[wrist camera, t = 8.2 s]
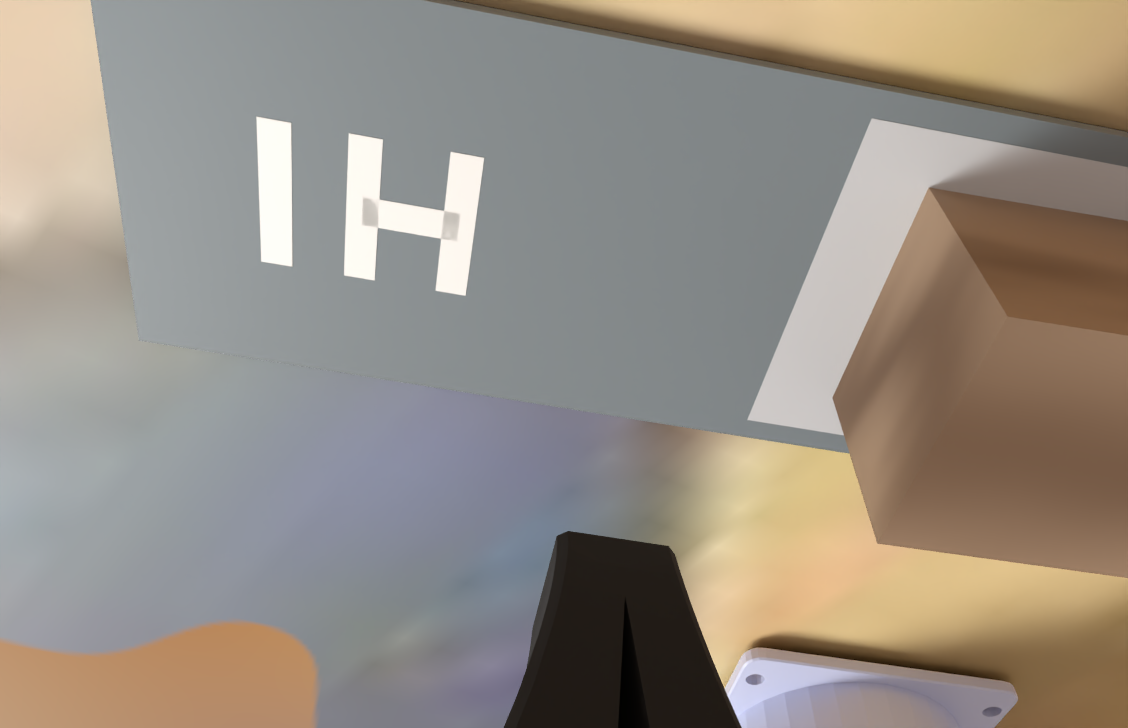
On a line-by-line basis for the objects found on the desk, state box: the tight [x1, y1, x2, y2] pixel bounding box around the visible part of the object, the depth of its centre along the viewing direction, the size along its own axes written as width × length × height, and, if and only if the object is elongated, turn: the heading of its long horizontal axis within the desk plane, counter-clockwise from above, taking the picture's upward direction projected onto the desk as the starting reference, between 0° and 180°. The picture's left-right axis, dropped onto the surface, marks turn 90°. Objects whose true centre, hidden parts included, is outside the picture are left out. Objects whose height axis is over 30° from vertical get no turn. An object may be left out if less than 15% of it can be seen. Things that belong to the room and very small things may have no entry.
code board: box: [91, 0, 1128, 453], centre depth 17 cm, size 8×21×1 cm, turn 80°
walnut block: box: [832, 188, 1128, 578], centre depth 16 cm, size 5×5×4 cm
